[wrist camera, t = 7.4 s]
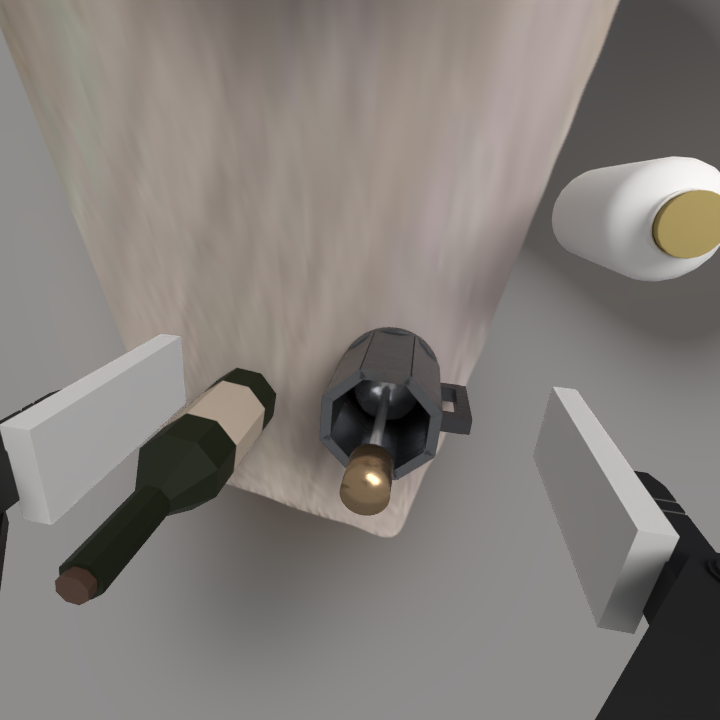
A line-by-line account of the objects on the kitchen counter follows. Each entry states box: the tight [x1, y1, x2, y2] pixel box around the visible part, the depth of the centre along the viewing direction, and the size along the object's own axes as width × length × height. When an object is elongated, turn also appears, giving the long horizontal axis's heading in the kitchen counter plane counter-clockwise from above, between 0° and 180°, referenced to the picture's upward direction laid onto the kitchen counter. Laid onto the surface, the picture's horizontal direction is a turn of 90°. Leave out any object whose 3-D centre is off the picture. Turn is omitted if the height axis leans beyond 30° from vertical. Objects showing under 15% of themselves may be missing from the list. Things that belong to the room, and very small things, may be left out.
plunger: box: [340, 380, 417, 515], centre depth 40 cm, size 7×7×19 cm
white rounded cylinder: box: [552, 157, 720, 281], centre depth 36 cm, size 8×8×18 cm
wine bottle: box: [55, 368, 276, 605], centre depth 43 cm, size 8×8×30 cm
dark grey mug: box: [320, 327, 472, 480], centre depth 47 cm, size 12×14×13 cm
